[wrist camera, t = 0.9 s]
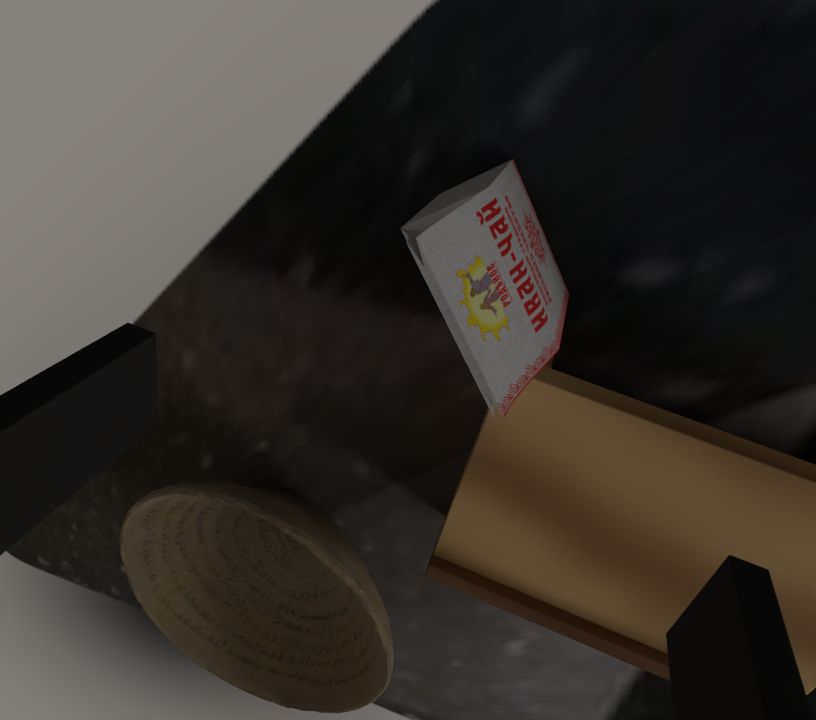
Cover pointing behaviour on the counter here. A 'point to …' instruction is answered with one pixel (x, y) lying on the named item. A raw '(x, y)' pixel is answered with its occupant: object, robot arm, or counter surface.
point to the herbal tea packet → (492, 280)
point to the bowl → (260, 593)
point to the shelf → (623, 520)
